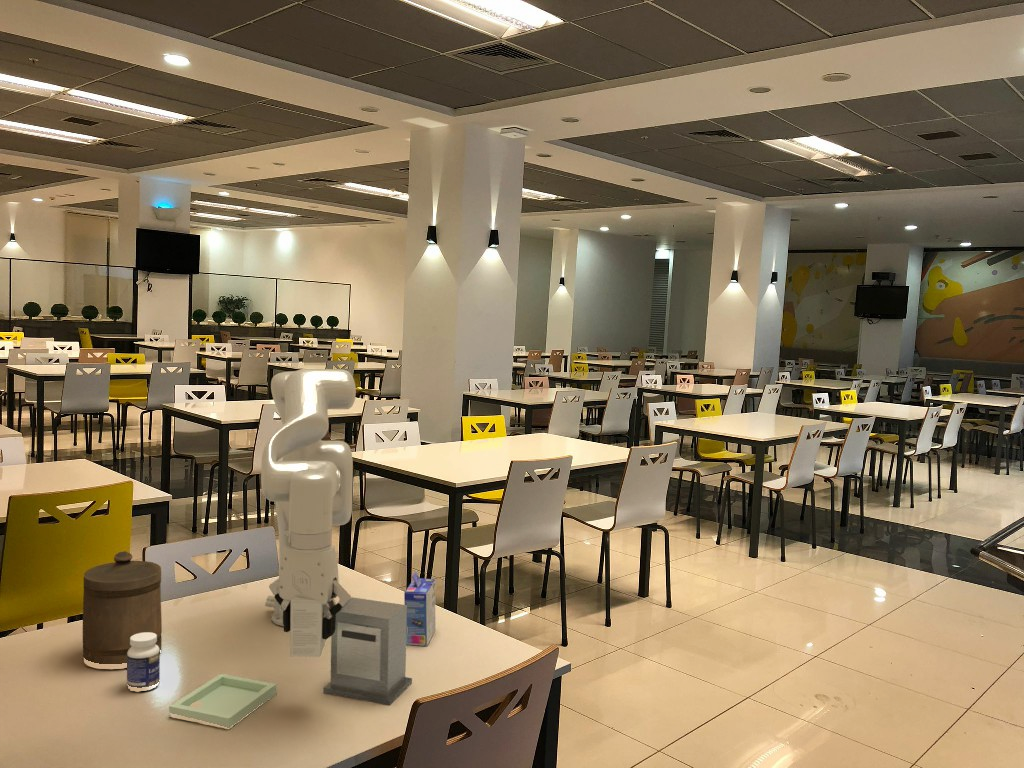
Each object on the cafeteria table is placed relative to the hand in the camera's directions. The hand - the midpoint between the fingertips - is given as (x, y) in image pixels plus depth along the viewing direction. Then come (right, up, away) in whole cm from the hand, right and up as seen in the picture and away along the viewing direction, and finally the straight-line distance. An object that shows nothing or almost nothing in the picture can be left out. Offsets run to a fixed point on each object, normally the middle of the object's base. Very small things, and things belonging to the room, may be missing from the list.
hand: (309, 632), depth 150 cm
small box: (0, -3, 0) cm, 3 cm away
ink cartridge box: (+16, -12, +36) cm, 41 cm away
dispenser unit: (+9, -14, +10) cm, 19 cm away
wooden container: (-44, -12, +21) cm, 50 cm away
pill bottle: (-34, -13, +8) cm, 37 cm away
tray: (-16, -14, +1) cm, 21 cm away
